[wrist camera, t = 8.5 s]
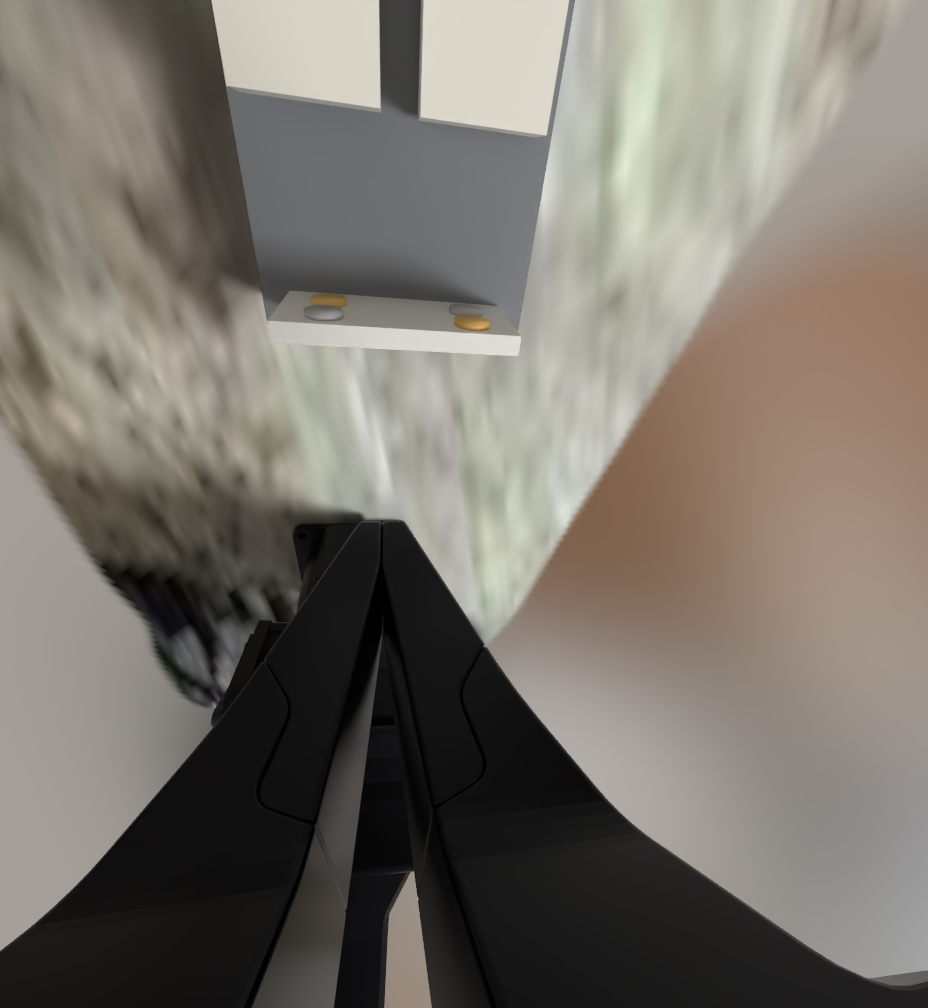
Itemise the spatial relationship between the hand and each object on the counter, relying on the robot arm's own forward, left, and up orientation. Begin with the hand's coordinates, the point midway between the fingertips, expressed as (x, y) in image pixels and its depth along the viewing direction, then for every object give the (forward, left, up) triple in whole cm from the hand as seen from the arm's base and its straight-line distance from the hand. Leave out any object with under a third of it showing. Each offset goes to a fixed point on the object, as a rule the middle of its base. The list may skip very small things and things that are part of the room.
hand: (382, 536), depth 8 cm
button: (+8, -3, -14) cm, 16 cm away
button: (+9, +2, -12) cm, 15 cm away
